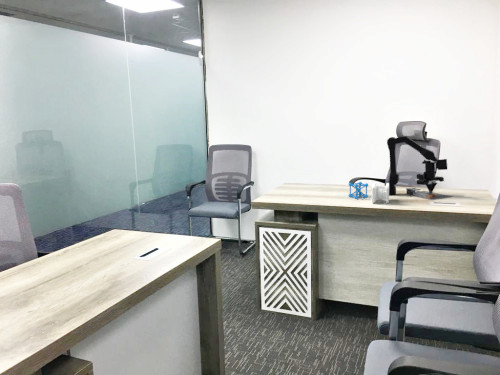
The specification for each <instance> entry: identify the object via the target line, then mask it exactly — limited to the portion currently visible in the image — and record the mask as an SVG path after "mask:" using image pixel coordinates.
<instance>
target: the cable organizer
mask: <svg viewBox="0 0 500 375" xmlns="http://www.w3.org/2000/svg"><path fill="white" fill-rule="evenodd" d="M370 188H371V203H372V204H375V203H376V201H385V203H386V204H389V203H390V196H389V183H387V182H386V183H385V185H377V183H376V182H372V184H371V187H370Z"/></svg>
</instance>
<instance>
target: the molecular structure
mask: <svg viewBox="0 0 500 375" xmlns="http://www.w3.org/2000/svg"><path fill="white" fill-rule="evenodd" d="M348 186H349V194H348V198H351V197H353V198H354V199H355V200H358V199H359V198H366V199H367V198H369V194H368V187H369V183H362V182H361V181H359V182H358V183H357V182H356V183H355V182H354V183H352V182H348ZM352 188H354V189H355V191H354V192H352ZM364 188H365V193H363V192H362V191H361V190H362V189H364Z"/></svg>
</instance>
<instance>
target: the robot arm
mask: <svg viewBox="0 0 500 375" xmlns="http://www.w3.org/2000/svg"><path fill="white" fill-rule="evenodd" d="M402 143H405V144H407V146H409V147H411V148H412V149H414V150H415V151H417V152H419V153H420V155H421V156H422V157H423V158H424V160H423V161H422V162H421V164H423V165H425V166H424V168H425V169H424V170H425V171H424V172H423V174H421V173H418V174H416V179H417V180H416V185H419V186H420V185H421V186H426V188H427V189H428V190H427V191H428V192H429V193H433V191H434V189H435V187H436V186H437V184H438V181H439V182H445V179H444V177H443V176H436V174H437V171H436V170H438V171H441V170H443V171H444V170H446V171H447V170H448V159H447V158H443V159H438V157H436V155H435V152H434V151H433V150H431V149H428V148H426V147H423V146H422V145H421V144H419V143H417V142H416V141H414V140H413V139H411V138H410V137H409V136H407V135H405V136H400V137H393V136H391V137H389V138H387V140H386V144H387V148H388V152H389V168H390V173H389V178H388V179H389V180H388V181H387V182H386V183H389V197H392V196H397V187H396V185H398V183H399V182H400V179H401V178H400V173H399V172H397V156H396V149H397V144H402Z"/></svg>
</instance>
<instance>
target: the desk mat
mask: <svg viewBox="0 0 500 375" xmlns="http://www.w3.org/2000/svg"><path fill="white" fill-rule="evenodd" d="M422 192H428V193H429V191H428V190H427V191H426V190H422ZM434 193H435V194H437V198H433V197H432V199H427V198H422V197H418V196H413V195H408V194H406V193H404V195H405V196H411V197H415V198H419V199H425V200H429V201H434V200H435V201H436V200H443V199H449V198H453V197H454V198H455V196H453V195H448V194H443V193H437V192H434Z"/></svg>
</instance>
